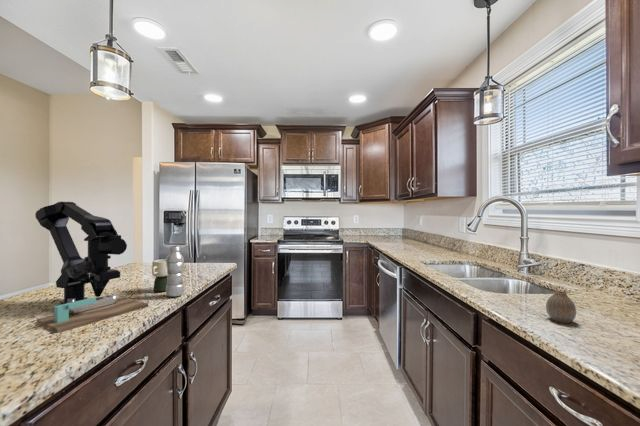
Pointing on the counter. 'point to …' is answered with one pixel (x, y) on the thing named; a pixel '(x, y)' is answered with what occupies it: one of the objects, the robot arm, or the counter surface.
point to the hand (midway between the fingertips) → (97, 296)
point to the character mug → (160, 274)
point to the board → (93, 315)
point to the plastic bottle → (174, 272)
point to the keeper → (63, 310)
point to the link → (99, 302)
